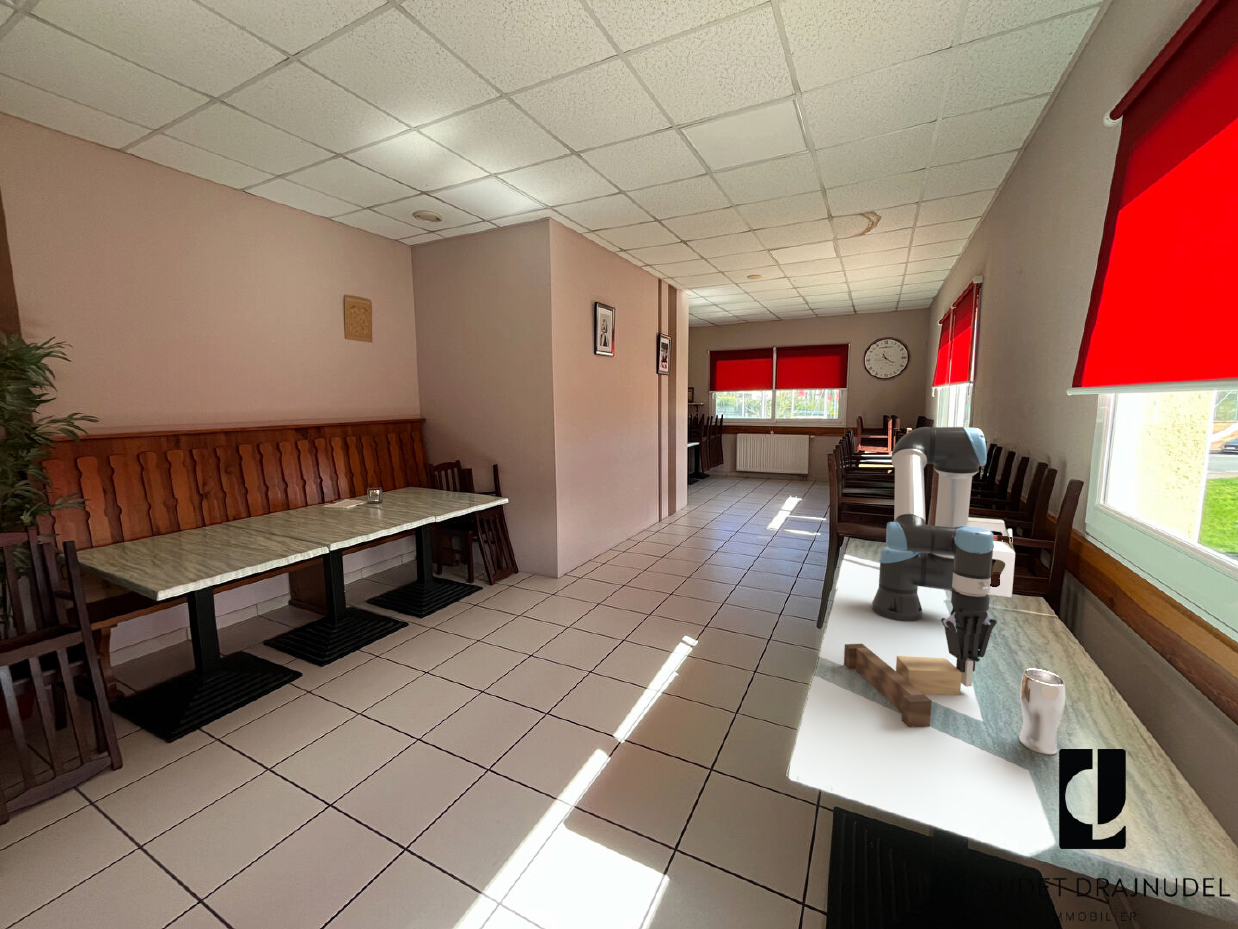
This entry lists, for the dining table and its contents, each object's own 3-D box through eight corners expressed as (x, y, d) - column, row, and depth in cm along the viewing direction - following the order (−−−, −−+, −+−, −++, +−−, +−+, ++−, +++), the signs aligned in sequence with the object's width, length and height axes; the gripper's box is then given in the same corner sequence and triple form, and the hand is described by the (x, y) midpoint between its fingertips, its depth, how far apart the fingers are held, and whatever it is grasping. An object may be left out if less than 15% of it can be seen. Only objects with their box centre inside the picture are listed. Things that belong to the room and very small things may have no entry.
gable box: (941, 588, 191) (946, 518, 188) (937, 578, 203) (941, 512, 200) (1012, 598, 181) (1018, 524, 178) (1004, 586, 193) (1009, 517, 190)
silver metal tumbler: (1064, 761, 97) (1070, 689, 95) (1019, 748, 100) (1024, 679, 99) (1056, 741, 102) (1062, 673, 101) (1013, 730, 106) (1019, 664, 105)
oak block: (895, 677, 128) (896, 656, 127) (944, 680, 126) (946, 658, 126) (908, 693, 121) (909, 670, 120) (960, 696, 119) (961, 672, 119)
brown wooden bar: (843, 665, 134) (844, 644, 133) (861, 664, 134) (862, 643, 134) (908, 727, 107) (909, 701, 107) (929, 726, 108) (931, 700, 107)
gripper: (957, 598, 114) (951, 693, 117) (1008, 596, 115) (1001, 690, 118) (934, 587, 122) (929, 676, 124) (982, 585, 123) (976, 674, 125)
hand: (964, 683), depth 121 cm, fingers closed
